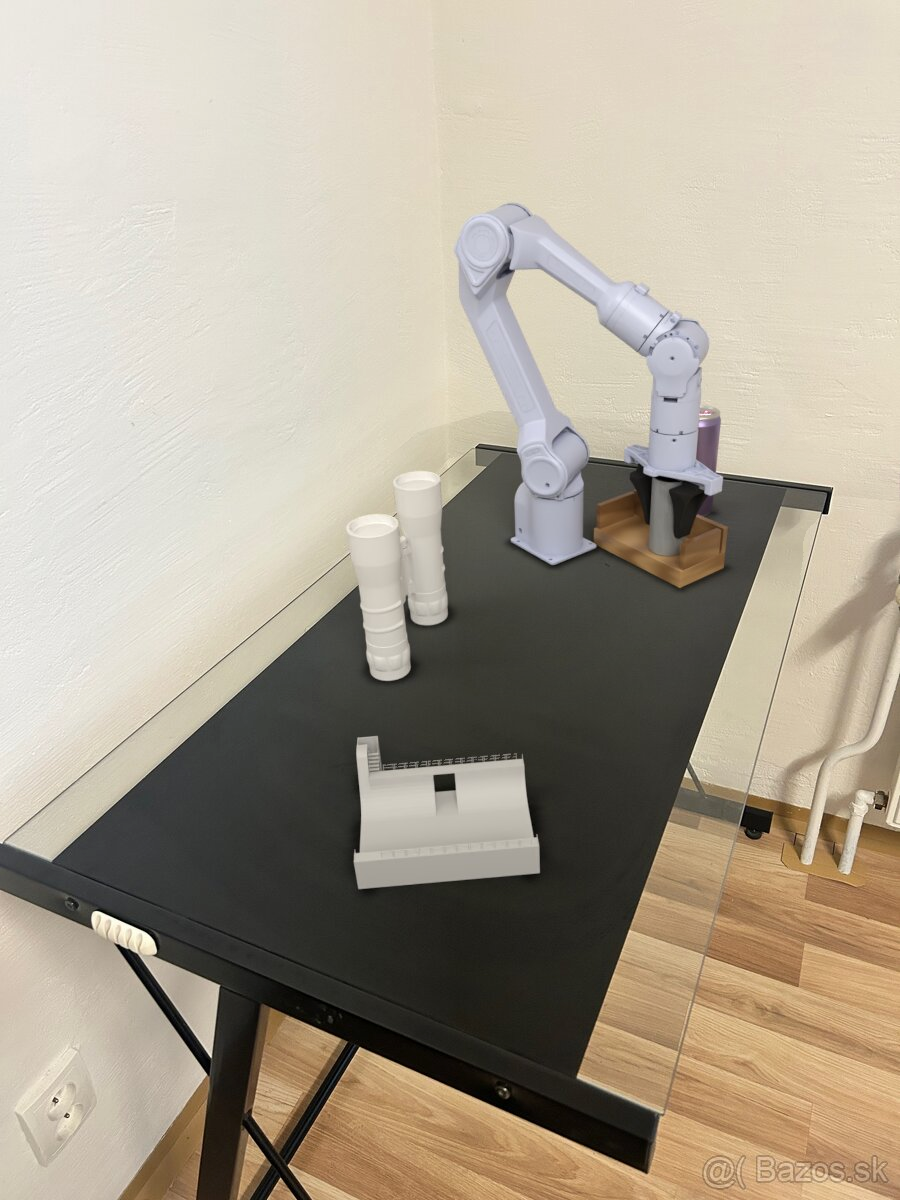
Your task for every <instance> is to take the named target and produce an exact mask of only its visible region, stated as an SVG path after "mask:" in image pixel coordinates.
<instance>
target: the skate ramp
mask: <svg viewBox="0 0 900 1200" xmlns="http://www.w3.org/2000/svg"><path fill="white" fill-rule="evenodd" d="M356 739H357V741H356V742H357V743H356V750H355V751H356V753H355V754H356V767H357V775H358V776H357V777H358V778H357V779H358V785H359V786H358V787H359V797H360V799H359V800H360V814H361V817H360V835H359V836H360V837H359V852H356V850H354V852H353V866H354V871H355V878H356V884H357V889H358V890H365V889H375V888H376V889H377V888H387V887H388V888H389V887H398V886H399V887H400V886H409V885H420V884H433V883H444V882H454V881H455V882H456V881H466V880H477V879H478V880H479V879H491V878H501V877H511V876H512V877H513V876H522V875H523V876H524V875H535V874H540V873H541V867H540V866H541V864H540V859H541V858H540V856H541V855H540V841H539V837H538V835H536V837H534V830H533V826H532V820H531V815H530V808H529V803H528V796H527V786H526V773H525V771H526V769H525V762H524V755H523V754H521V758H517V754H518V753H515V756H514V759H509V755H510V753H506V754H504V757H503V760H497V759H498V756H499V754H498V755H497V754H493V755H492V758H491V761H485V760H486V758H485V757H487V755H483V756H481V759H479V761H480V762H473V759H474V758H476V756H471V757H469V760H468V762H469V763H463V762H462V760H463V759H464V757H460V758H457V760H458V761H456V763H457V764H451V761H452V759H451V758H448V759H446V762H445V764H447V765H440V763H441V759H439V760H438V759H437V760H434V762H435V763H433V766H428V765H430V760H428V761H427V760H425V761H423V763H425V764H422V766H423V767H417V764H418V761H416V762H415V761H414V762H412V761H411V765H410V767H411V768H406V766H407V762H402V763H400V766H399V768H401V769H395V768H396V763H390V764H388V766H390V767H387V769H389V770H385V767H384V766H385V765H383V764H382V757H381V749H380V742H379V736H378V735H373V736H363V737H359V736H358V737H357V738H356ZM459 760H460V761H459ZM492 760H493V761H492ZM436 761H437V763H436ZM481 761H482V762H481ZM412 764H413V765H412ZM436 764H437V765H436ZM401 765H403V766H401ZM435 765H436V766H435ZM402 767H403V768H402ZM448 774H449V775H450V774H454V783H455V790H444V791H443V790H442V791H436V789H435V788H436V787H435V778H434V776H436V775H448Z"/></svg>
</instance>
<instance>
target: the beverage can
mask: <svg viewBox="0 0 900 1200" xmlns="http://www.w3.org/2000/svg"><path fill="white" fill-rule="evenodd" d="M721 424H722V418H721V410H720V409H718V408H717V407H715V406H712V405H711V406H710V405H703V404H700V416H699V428H698V440H697V452H696V460H698V461H699V462H701V463H702V464H703V465H705V466H706V467H707V468H709V469H710V470H711V471H713V472H714V473H716V474H717V467H718V457H719V456H718V454H719V447H720V446H719V445H720V434H721ZM714 496H715V494H714V495H711V496H709V495H708V497H707V498H706V499H705V501H704V502H703V504H702V506H701V508H700V509H699V511H698V513H697V514H698V515H701V516H703V517H706V516H708V515H709V514H710V513H711V512H712V510H713V507H714Z"/></svg>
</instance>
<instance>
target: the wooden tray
mask: <svg viewBox="0 0 900 1200" xmlns="http://www.w3.org/2000/svg"><path fill="white" fill-rule="evenodd" d="M595 515H596V516H595V527H594V528H593V543H595V544H596V545H597V547H599V548H601V549H603V550H605V551H607V552H609V553H611V554H613V556H614V555H615V556H617V557H618V558H620V559H623V560H624V561H626V562H628V563H630V564H632V565H633V566H636V567H638V568H640V569H642V570H644V571H646V572H648V573H649V574H652V575H653V576H655V577H657V578H659V579H660V580H663V581H665V582H666V583H669V584H671V585H673V586H675V587H676V588H679V589H681V588H683V587H686V586H687V585H690V584H692V583H694V582H696V581H698V580H701V579H703V578H705V577H708V576H710V575H711V574H714V573H716V572H718V571H720V570H723V569H724V567H725V557H726V552H727V551H726V549H727V539H728V530H729V526H726V525H724V524H723V523H719V522H717V521H715V520H713V519H711V518H708V517H706V516H704V517H703V516H701V515H698V514H697V516H696V518H695V520H694V523H693V526H692V529H691V532H690V534H689V535H687V536H685V542H682V543H681V545H680V554H678V555H674V556H661V555H657V554H655V553H653V552H651V551H650V550H649V528H650V525H647V524H646V522H645V518H644V514H643V509H642V505H641V502H640V499H639V496H638V493H637V491H636V489H633V491H632V490H631V491H628V492H625V493H623V494H620V495H617V496H615V497H612V498H609V499H607V500H604V501H601V502H599V503H596V508H595Z"/></svg>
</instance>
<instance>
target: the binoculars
mask: <svg viewBox="0 0 900 1200" xmlns="http://www.w3.org/2000/svg"><path fill="white" fill-rule="evenodd" d="M441 480H442V478H441V476H440V475H439V474H437V473H435V472H433V471H428V470H412V471H407V472H404V473H401V474H398V475H397V476H396V477H395V478H394V479H393V480H392V486H393V493H394V503H395V512H396V516H397V518H396V517H394V516H392V515H389V514H386V513H371V514H364V515H360V516H358V517H355V518H354V519H352V520H350V521H349V522H348V523H347V524H346V527H345V531H346V534H347V541H348V549H349V557H350V561H351V564H352V567H353V571H354V575H355V577H356V581H357V583H358V590H359V596H360V597H359V598H360V603H359V606H360V609H361V612H362V619H363V623H362V627H363V629H364V634H365V642H366V651H365V654H366V661H367V663H368V666H369V673H370V675H371V676H372V677H373V678H374V679H376V680H379V681H383V682H384V681H385V682H391V681H396V680H397V681H398V680H399V679H403V678H404V677H405V676H407V675H408V674H409V673H410V671H411V668H412V666H411V647H410V643H409V639H408V632H407V625H406V619H405V618H406V617H405V616H406V615H405V609H404V608H405V607H404V606H405V605H404V604H405V603H406V601H407V605H408V609H409V614H410V619H411V621H412V622H413V623H414V624H417V625H419V626H434V625H438V624H440V623H443V622H444V621H445V620H446V619H447V618H448V615H449V611H448V606H449V600H448V591H447V587H446V586H447V583H446V580H445V579H446V578H445V570H446V565H445V563H444V554H443V552H445V551H444V549H445V548H444V546H443V542H442V530H441V529H442V520H443V519H442V518H443V516H442V515H443V497H442V495H443V494H442V483H441V482H442V481H441ZM400 530H401V534H402V535H401V534H400Z"/></svg>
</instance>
